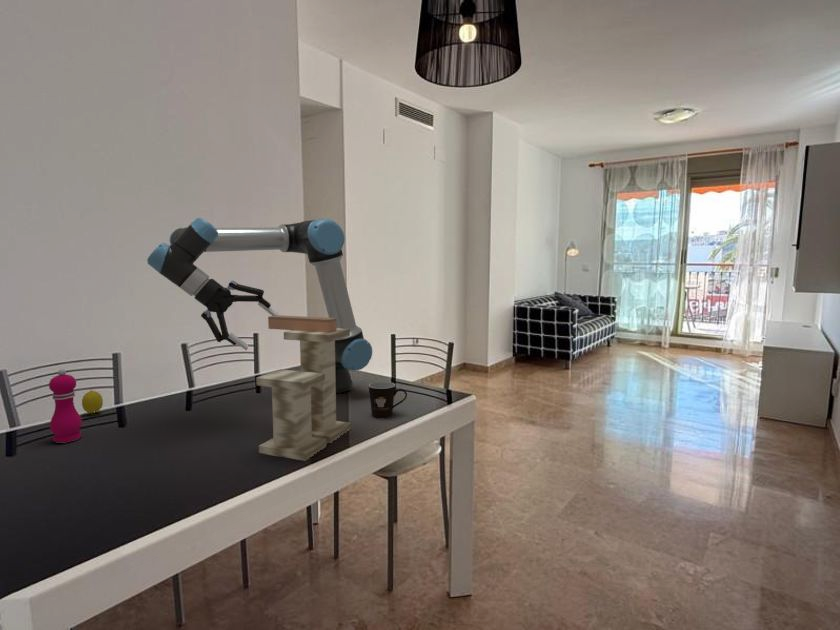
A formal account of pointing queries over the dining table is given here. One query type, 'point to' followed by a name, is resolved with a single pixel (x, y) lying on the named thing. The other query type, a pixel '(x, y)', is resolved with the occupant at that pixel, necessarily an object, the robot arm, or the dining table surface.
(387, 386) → the coffee mug
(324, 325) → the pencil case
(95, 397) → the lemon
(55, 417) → the pepper mill
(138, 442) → the dining table surface
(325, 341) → the two-tier stand
